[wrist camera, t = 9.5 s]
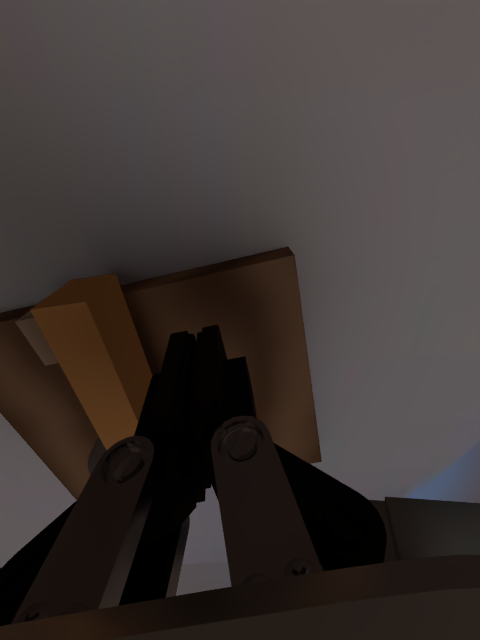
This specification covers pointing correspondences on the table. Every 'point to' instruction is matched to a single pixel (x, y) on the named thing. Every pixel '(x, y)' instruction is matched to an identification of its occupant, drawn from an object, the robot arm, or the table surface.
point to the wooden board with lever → (154, 332)
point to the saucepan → (98, 355)
